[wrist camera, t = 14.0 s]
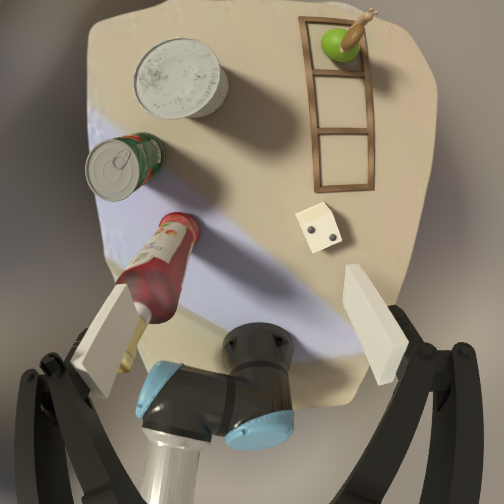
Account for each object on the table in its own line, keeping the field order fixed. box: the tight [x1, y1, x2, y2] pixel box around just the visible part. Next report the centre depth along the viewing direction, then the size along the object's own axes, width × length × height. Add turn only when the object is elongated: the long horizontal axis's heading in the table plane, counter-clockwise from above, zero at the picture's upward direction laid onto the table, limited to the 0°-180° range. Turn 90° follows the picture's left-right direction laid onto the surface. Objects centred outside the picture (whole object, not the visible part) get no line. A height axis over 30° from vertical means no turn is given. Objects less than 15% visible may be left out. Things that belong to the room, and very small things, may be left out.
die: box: [295, 202, 342, 254], centre depth 42 cm, size 5×5×5 cm
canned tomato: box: [85, 132, 165, 202], centre depth 34 cm, size 8×8×11 cm
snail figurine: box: [321, 8, 378, 62], centre depth 25 cm, size 5×6×12 cm
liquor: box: [115, 212, 200, 373], centre depth 32 cm, size 7×7×28 cm
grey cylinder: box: [133, 37, 229, 120], centre depth 29 cm, size 10×10×12 cm
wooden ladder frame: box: [298, 16, 374, 192], centre depth 35 cm, size 28×10×1 cm, turn 6°
